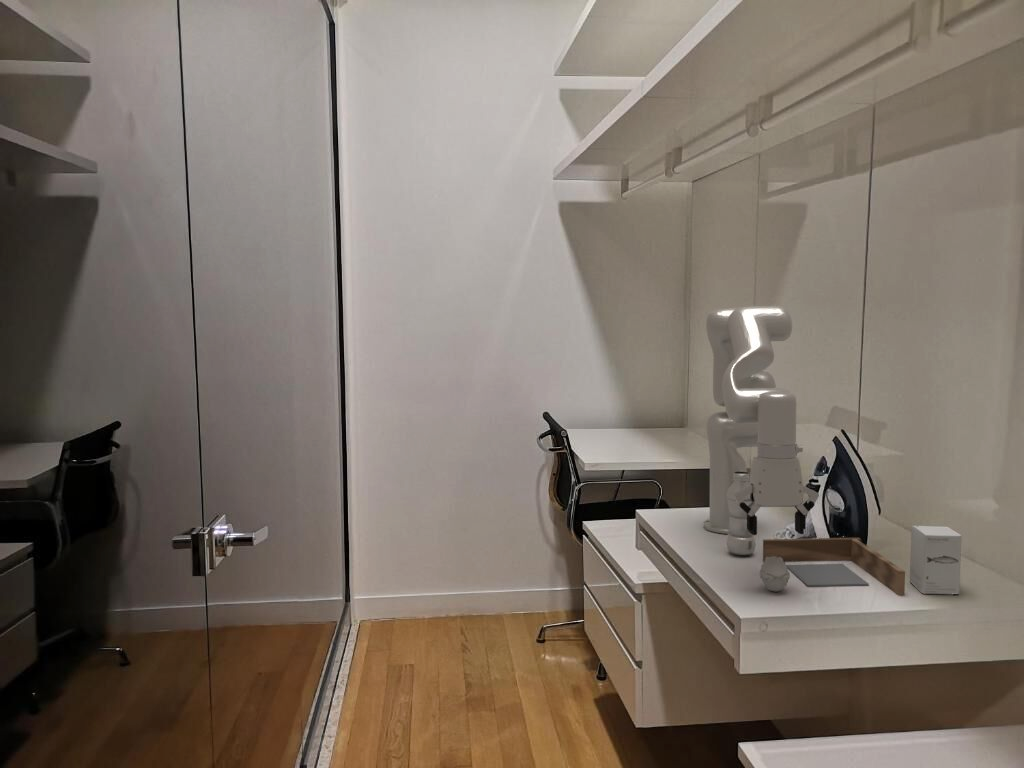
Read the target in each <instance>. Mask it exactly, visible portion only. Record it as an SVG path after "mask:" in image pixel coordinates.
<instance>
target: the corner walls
mask: <svg viewBox="0 0 1024 768" xmlns="http://www.w3.org/2000/svg"><path fill="white" fill-rule="evenodd" d="M762 544H763V545H762V561H763V563H764V562H765V558H766V557H772V556H774V557H775V556H776V557H781V558H782V559H783V562H785V563H786V562H820V561H821V562H825V561H827V562H828V561H852V562H853V563H855V564H856V565H857V566H859V567H860V569H863V571H865V572H866V573H868V574H869V575H871V576H872V577H874V578H875V579H876V580H877V581H878V582H880V583H881V584H882V585H884V586H886V587H887V588H888V589H890V590H891V591H892V592H894V594H896V595H898V596H905V589H906V588H905V587H906V571H905V570H904V569H902V568H901V567H899V566H898V565H897V564H894V563H893V562H892V561H891V560H889V559H887V558H886V557H884V556H883V555H882V554H879V553H878V552H876V550H874V549H872V548H871V547H869V546H868V545H866V544H865V543H863V542H862V539H861V538H860V537H826V538H825V537H824V538H821V537H819V538H813V537H812V538H771V539H769V538H768V539H767V538H766V539H763V540H762Z"/></svg>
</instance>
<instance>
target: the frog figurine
mask: <svg viewBox="0 0 1024 768" xmlns="http://www.w3.org/2000/svg"><path fill="white" fill-rule="evenodd" d="M786 565H787V564H786V561H785V562H783V559H782V558H781V557H776V556H775V557H774V556H772V557H766V558H765V562H764V561H763V563H762V564H761V565H760V570H759V577H760V578H761V579H762V583H763V586H765V588H766V589H768V590H769V591H771V592H781V591H783V590H784V589H786V587H787V585H788V582H789V580H790V578H791V575H790V574H791V572H790V570H789V569H788V568H787V566H786Z"/></svg>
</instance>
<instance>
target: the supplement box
mask: <svg viewBox="0 0 1024 768" xmlns="http://www.w3.org/2000/svg"><path fill="white" fill-rule="evenodd" d="M962 536H963V535H961V534H960V533H958V532H957V531H955V530H953V529H952V528H951V527H949V526H944V525H943V526H938V525H937V526H933V525H911V531H910V556H909V557H910V561H909V562H910V563H909V583H910V582H911V583H912V584H913V585H914V586H915V587H916V588H917V589H916V588H915V587H914V588H915V589H916V590H917V591H919V593H921V594H922V593H923V594H922V595H925V594H926V595H927V594H928V595H929V594H934V595H937V594H938V595H953V594H952V593H954V594H955V593H956V594H959V595H960V590H961V589H960V587H961V586H960V585H961V583H960V582H961V579H960V578H961V560H962V559H961V557H962V540H963V539H962V538H963V537H962ZM911 583H910V584H911ZM912 584H911V585H912Z"/></svg>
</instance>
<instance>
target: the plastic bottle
mask: <svg viewBox="0 0 1024 768" xmlns="http://www.w3.org/2000/svg"><path fill="white" fill-rule="evenodd" d="M733 480H734V482H733V484H732V485H731V486H730V487H729V489H728V491H727V501H728V508H729V531H728V534H727V536H726V548H727V550H728V552H729V553H731V554H732V555H737V556H750V555H752V554H753V553H754V552H755V550H756V549H755V548H756V539H755V535H752V534H751V533H750V532H749V530H748V529H747V513H746V512H745V511H744V510H743V509H742V508H741V507H740V506H739V505H738V503H737V501H736V499H735V497H734V494H735V493H736V492H738V491H740V490H742V489H744V488H746V487H748V486H749V483H750V472H749V471H747V472H745V471H735V472H733ZM743 500H744V502H745V504H746V505H747V506H748V505H749V504H750V502H751V501H750V500H749V495H747V496H745V497H744V498H743Z"/></svg>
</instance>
